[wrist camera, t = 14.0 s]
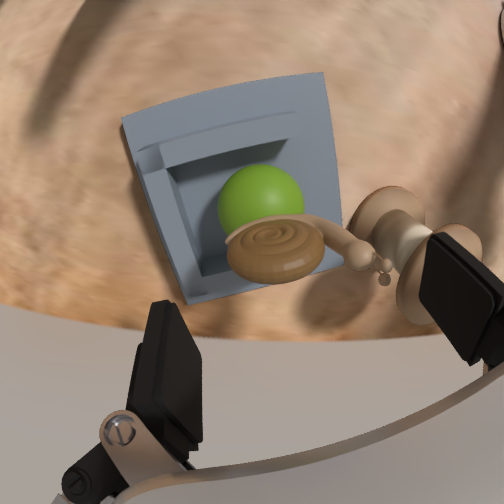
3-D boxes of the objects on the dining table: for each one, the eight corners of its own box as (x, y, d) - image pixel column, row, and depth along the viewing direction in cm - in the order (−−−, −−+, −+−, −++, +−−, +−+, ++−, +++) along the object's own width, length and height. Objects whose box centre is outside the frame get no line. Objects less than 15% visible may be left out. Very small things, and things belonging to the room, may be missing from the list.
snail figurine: (307, 217, 22) (387, 323, 12) (224, 236, 22) (245, 363, 11) (299, 148, 19) (400, 209, 9) (208, 166, 19) (211, 251, 9)
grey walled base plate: (124, 117, 17) (109, 120, 14) (317, 73, 18) (337, 69, 15) (188, 298, 25) (187, 325, 22) (339, 259, 26) (356, 280, 23)
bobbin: (346, 194, 23) (410, 246, 15) (420, 179, 23) (490, 219, 15) (349, 274, 27) (396, 339, 19) (415, 253, 27) (469, 304, 19)
